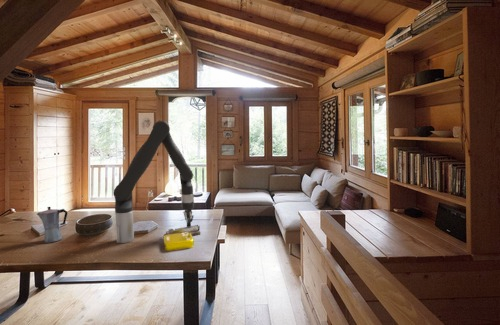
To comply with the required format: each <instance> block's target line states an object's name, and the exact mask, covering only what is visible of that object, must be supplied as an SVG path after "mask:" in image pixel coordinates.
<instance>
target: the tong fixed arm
mask: <svg viewBox="0 0 500 325" xmlns="http://www.w3.org/2000/svg"><path fill="white" fill-rule="evenodd" d="M198 230H199V231H200V225H198V226H195V227H189V228H184V229H178V230H175V229H173V228H169V229H168V231H169V234H176V233H184V232H192V231H198Z"/></svg>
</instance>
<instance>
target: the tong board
mask: <svg viewBox="0 0 500 325" xmlns="http://www.w3.org/2000/svg"><path fill="white" fill-rule="evenodd" d="M189 233H191V235H192V237H193V236H199V235H201V231H200V230H198V231H192V232H189ZM168 234H169V230H165V235H168Z"/></svg>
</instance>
